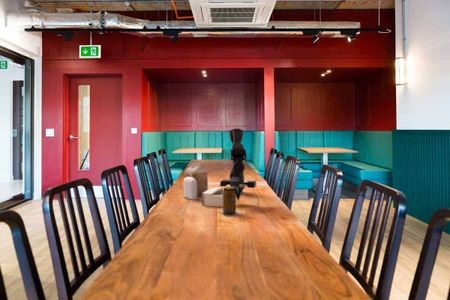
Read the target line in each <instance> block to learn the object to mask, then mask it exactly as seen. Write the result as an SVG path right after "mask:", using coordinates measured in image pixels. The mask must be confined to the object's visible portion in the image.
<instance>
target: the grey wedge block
mask: <svg viewBox="0 0 450 300" xmlns="http://www.w3.org/2000/svg"><path fill="white" fill-rule="evenodd" d="M222 187H223V186H213V187H210V188H208V190H207V191H205V192H203V193H202V195H201V206H207V207H220V208H223V196H219V195H223V194H224V188H222Z"/></svg>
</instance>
